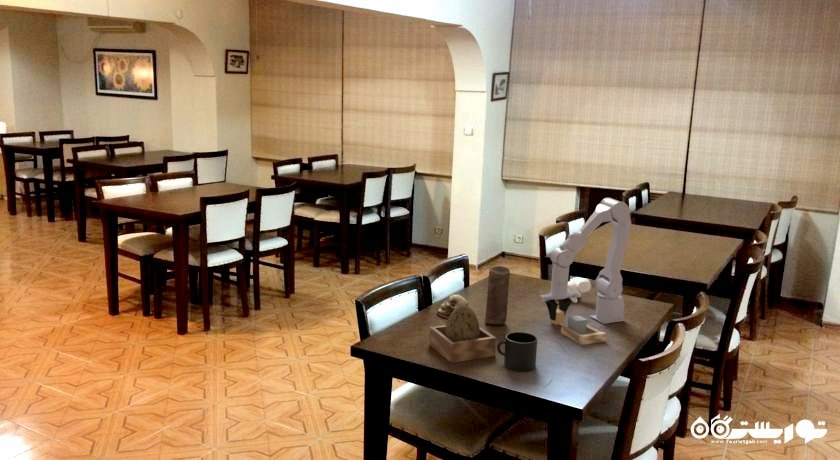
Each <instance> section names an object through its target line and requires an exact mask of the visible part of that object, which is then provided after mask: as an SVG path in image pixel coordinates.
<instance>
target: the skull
mask: <svg viewBox="0 0 840 460" xmlns="http://www.w3.org/2000/svg"><path fill="white" fill-rule="evenodd" d="M460 305H467V306H469V303H468V301H467V300H466V299H465V298H464V297H463V296H462V295H460V294H452V295H450V296H449V298H446V300H445V301H443V303H442V304H441V305H440V308H438V310H437V311H436V313H437V315H438V316H440V317H441V318H443V319H445V320H448V318H449V316H450V315H451V313H452V312H453V310H454V309H455V308H457V307H458V306H460Z"/></svg>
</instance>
